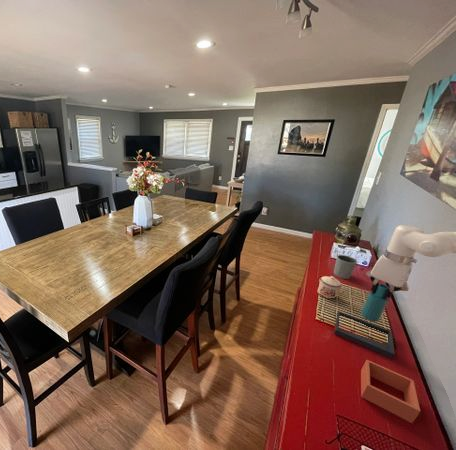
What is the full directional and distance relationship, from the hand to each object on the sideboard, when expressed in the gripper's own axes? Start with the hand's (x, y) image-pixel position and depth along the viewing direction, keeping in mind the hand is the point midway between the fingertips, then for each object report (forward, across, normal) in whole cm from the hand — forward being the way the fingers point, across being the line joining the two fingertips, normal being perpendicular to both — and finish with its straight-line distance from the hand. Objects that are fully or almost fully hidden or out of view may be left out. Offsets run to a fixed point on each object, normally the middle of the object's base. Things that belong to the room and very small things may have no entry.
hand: (379, 294), depth 99 cm
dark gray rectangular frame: (+22, 0, 0) cm, 22 cm away
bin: (+22, -16, +25) cm, 37 cm away
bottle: (+12, 0, 0) cm, 12 cm away
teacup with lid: (+22, +21, -18) cm, 36 cm away
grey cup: (+22, +28, -47) cm, 59 cm away
